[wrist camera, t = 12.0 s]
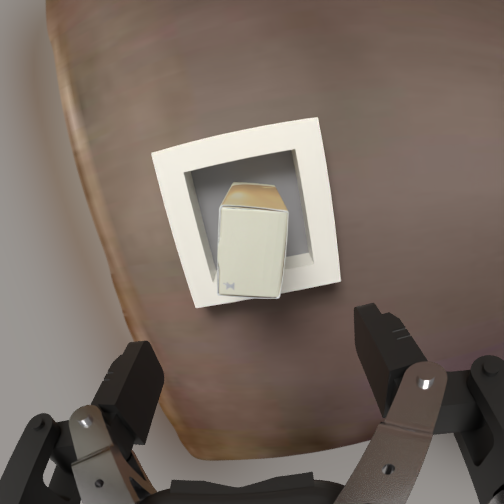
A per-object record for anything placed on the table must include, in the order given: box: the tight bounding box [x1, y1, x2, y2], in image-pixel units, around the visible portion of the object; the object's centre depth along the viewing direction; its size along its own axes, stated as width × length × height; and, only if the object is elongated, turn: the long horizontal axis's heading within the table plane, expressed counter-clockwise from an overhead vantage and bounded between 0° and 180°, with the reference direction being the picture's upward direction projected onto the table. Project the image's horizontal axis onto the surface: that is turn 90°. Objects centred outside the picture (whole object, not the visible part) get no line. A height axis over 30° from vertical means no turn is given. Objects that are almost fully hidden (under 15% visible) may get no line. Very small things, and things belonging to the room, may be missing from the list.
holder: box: [151, 117, 341, 308], centre depth 29 cm, size 15×16×4 cm
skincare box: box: [217, 182, 289, 299], centre depth 25 cm, size 6×4×12 cm
